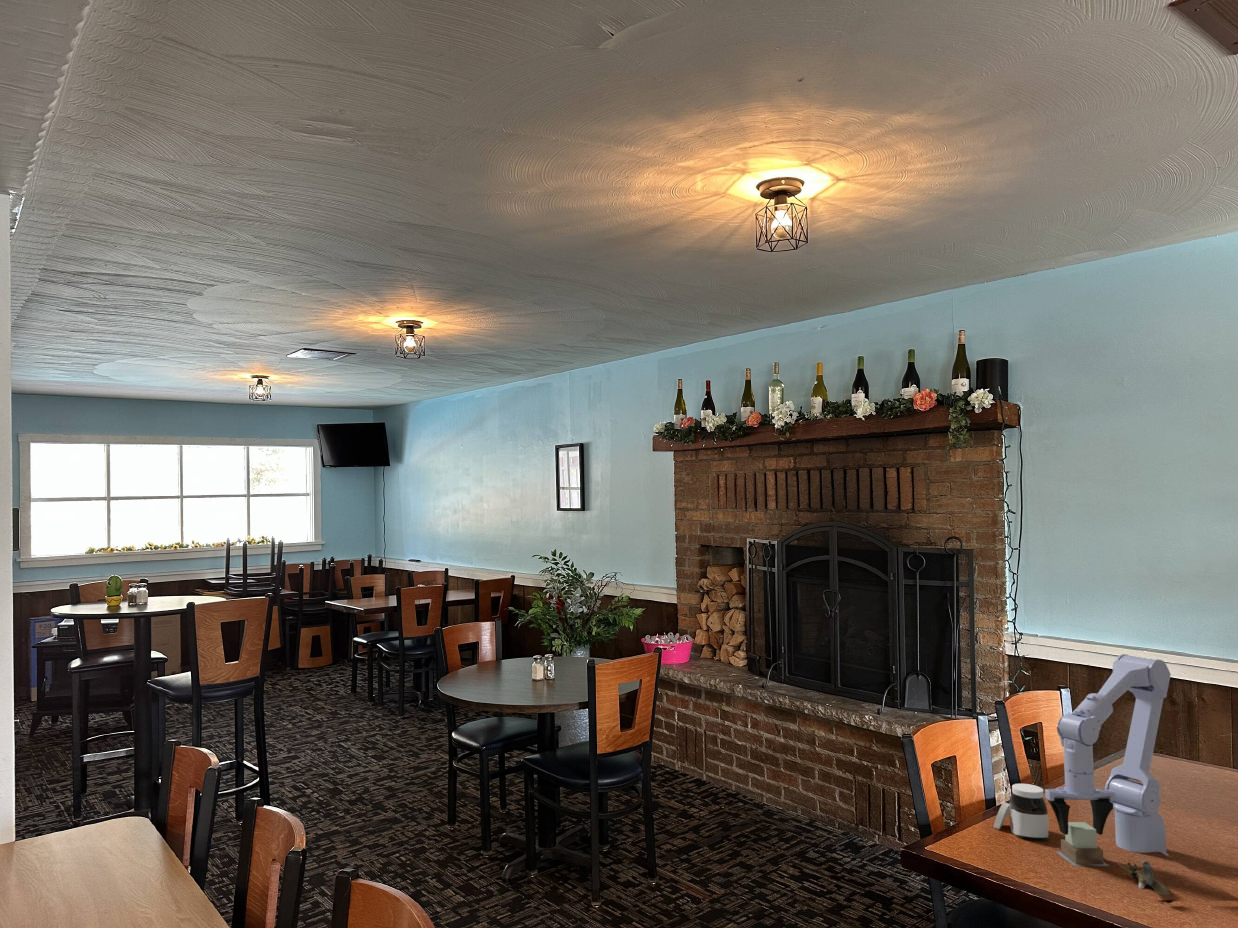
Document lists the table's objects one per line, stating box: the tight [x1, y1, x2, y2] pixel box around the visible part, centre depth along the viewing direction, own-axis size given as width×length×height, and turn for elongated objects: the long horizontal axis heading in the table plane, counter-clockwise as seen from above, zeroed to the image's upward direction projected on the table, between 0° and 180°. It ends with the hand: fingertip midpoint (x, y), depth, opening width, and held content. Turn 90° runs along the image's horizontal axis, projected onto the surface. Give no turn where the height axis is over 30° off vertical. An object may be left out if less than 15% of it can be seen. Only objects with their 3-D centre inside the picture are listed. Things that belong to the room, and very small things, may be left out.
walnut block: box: [1060, 838, 1104, 864], centre depth 183 cm, size 6×6×3 cm
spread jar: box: [993, 783, 1049, 842], centre depth 199 cm, size 12×11×12 cm
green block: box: [1064, 821, 1098, 848], centre depth 183 cm, size 4×4×4 cm
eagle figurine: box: [1117, 859, 1175, 904], centre depth 168 cm, size 8×7×9 cm
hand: (1081, 832), depth 183 cm, fingers open, 7 cm apart
